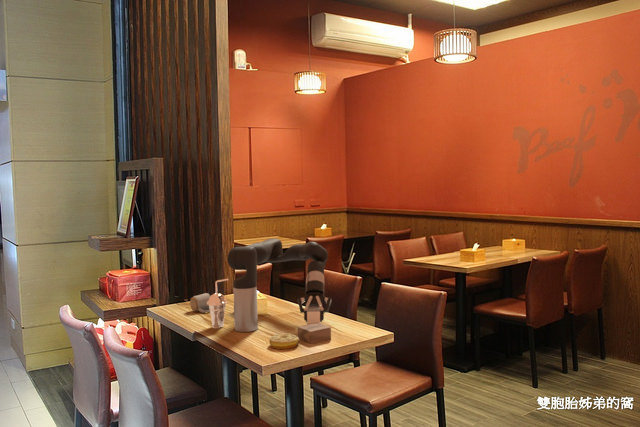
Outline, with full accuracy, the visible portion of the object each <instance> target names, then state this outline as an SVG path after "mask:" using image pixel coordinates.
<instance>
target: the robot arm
mask: <svg viewBox="0 0 640 427" xmlns="http://www.w3.org/2000/svg"><path fill="white" fill-rule="evenodd" d="M310 259H311V260H312V261H310V262H309V263H308V265H307V269H306V270H307V271H306V272H307V273H306V279H305V295H304V297H297V304H298V308H299V312H300V313H301V314H302V313H303V319H304V321H305V323H307V308H308V307H309V306H319V307H320V310H321V311H320V322H321V323H322V322H323V321H324V319H325V318H324V316H325V314H326V313H327V314H328V313H329V310H330V308H331V304H332V297H331V296H328V297H326V296H325V267H326V265H327V261H328V259H329V252H328V251H327V249H326V248H324V247H323V246H322V245H321V244H319V243H317V242H315V241H309V242H307V243H304V244H299V243H298V244H292V245H291V246H289V247H288V249H286V250H285V251H283V243H282V241H281V239H278V238H267V239H265V240H262V241H260V242H254V243H251V244H248V245H245V246H234V247H232V248H231V249H229V252H228V254H227V260H226V261H227V263H228V266H229V267H230V268H231V269H232V270H235V271H245V274H244V275H243V276H241V277H238V278H235V279H234V280H233V282H232V283H233V286H232V287H233V289H232V290H233V320H234V321H233V323H234V325H233V326H234V330H235V331H236V332H239V333H248V332H249V333H250V332H254V331H257V330H259V322H258V321H259V320H258V318H259V317H258V316H259V314H258V290H257V289H258V288H257V287H258V286H257V280H258V265H261V264H264V263H271V264H272V263H282V262H290V261H308V260H310ZM304 302H305V303H306V304H305V307H303V304H304ZM323 303H325V307H323Z"/></svg>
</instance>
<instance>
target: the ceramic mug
mask: <svg viewBox="0 0 640 427" xmlns="http://www.w3.org/2000/svg"><path fill="white" fill-rule="evenodd" d="M210 296H211V295H210V294H209V292H208V293H207V292H205V293H202V294H198V295H194V296H192V297H191V298H190V300H189V302H190V303H189V305H190V306H189V307H190V308H191V310H192V311H193V312H196V313H197V311H199V312H200V313H203V314H206V313H205V312H209V313H210V310H209V305H207V301H209V298H210Z"/></svg>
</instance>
